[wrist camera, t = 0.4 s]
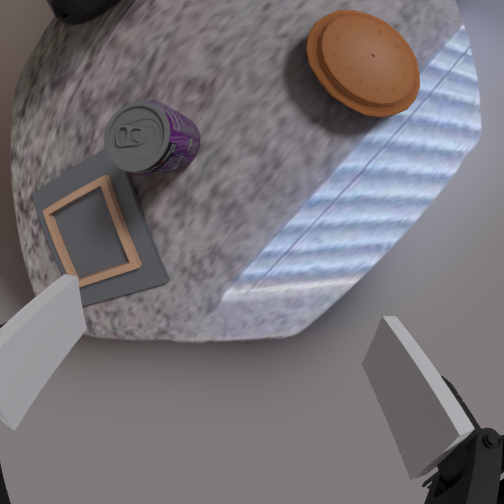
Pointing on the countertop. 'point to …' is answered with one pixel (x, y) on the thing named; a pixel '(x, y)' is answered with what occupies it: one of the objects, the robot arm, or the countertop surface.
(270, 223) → the countertop surface
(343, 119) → the countertop surface
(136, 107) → the beverage can
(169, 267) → the countertop surface
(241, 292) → the countertop surface
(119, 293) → the dock plate
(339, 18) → the pie
